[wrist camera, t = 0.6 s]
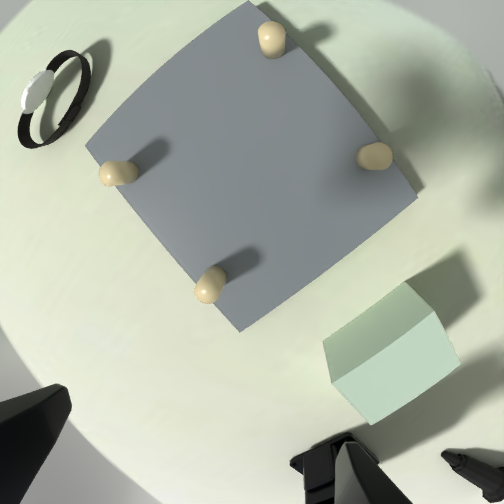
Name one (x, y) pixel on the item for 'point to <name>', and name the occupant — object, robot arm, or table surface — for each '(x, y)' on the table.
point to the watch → (39, 92)
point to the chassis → (249, 165)
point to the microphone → (478, 475)
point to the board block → (389, 354)
